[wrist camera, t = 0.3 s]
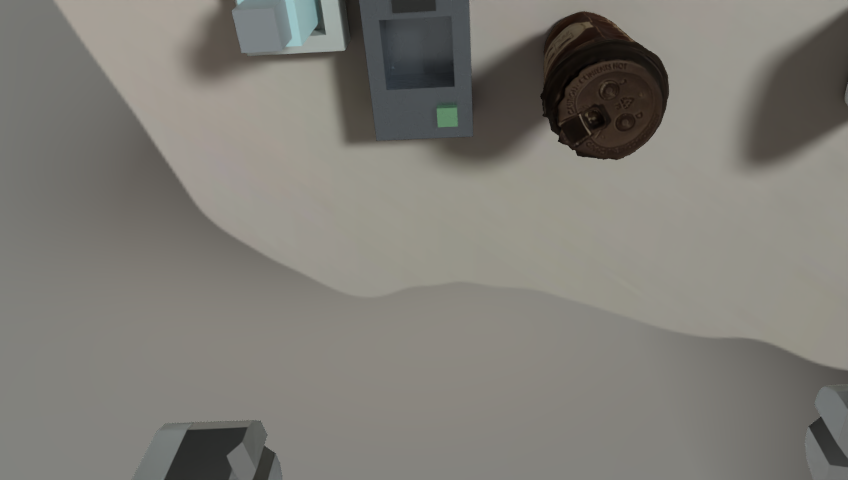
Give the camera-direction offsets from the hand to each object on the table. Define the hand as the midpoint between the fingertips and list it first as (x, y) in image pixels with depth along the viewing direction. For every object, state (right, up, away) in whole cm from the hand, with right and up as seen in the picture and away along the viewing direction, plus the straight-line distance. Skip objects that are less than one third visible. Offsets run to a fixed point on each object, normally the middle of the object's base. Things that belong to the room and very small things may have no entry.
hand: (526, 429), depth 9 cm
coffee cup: (+11, +19, +43) cm, 48 cm away
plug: (-12, +22, +40) cm, 48 cm away
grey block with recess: (-2, +20, +43) cm, 47 cm away
